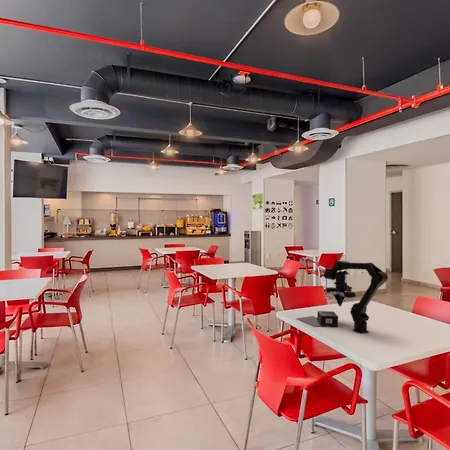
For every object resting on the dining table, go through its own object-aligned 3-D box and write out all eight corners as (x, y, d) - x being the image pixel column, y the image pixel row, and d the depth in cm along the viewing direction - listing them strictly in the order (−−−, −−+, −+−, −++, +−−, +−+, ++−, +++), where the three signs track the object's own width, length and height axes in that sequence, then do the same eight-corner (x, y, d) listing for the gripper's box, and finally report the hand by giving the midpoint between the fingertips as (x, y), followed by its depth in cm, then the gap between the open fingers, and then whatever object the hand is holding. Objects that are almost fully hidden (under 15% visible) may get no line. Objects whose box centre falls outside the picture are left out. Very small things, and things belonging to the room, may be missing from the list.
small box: (338, 326, 200) (334, 321, 210) (338, 316, 199) (334, 311, 210) (320, 326, 201) (317, 320, 211) (320, 315, 200) (317, 310, 211)
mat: (332, 324, 205) (332, 323, 205) (314, 327, 199) (314, 326, 199) (312, 316, 222) (312, 315, 222) (296, 319, 215) (296, 318, 215)
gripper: (361, 282, 200) (361, 308, 200) (337, 277, 216) (337, 301, 216) (349, 284, 194) (349, 310, 194) (325, 279, 210) (325, 303, 210)
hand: (340, 306), depth 204 cm, fingers closed
